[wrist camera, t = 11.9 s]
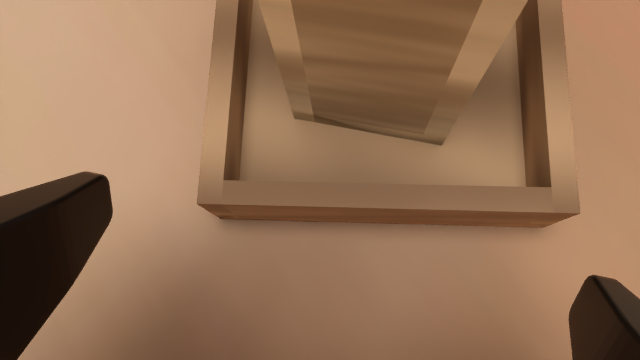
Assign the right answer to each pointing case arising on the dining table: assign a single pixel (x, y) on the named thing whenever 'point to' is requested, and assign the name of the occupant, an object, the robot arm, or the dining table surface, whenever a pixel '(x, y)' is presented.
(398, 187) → the crate
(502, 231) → the dining table surface
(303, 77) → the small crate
